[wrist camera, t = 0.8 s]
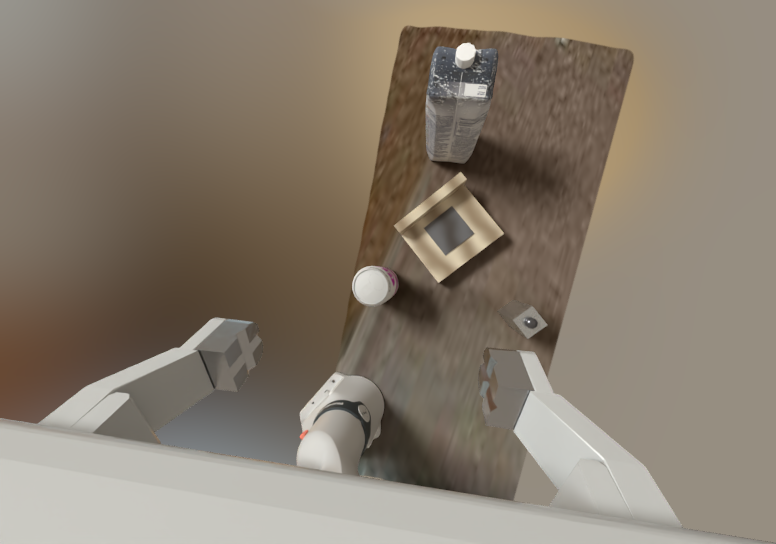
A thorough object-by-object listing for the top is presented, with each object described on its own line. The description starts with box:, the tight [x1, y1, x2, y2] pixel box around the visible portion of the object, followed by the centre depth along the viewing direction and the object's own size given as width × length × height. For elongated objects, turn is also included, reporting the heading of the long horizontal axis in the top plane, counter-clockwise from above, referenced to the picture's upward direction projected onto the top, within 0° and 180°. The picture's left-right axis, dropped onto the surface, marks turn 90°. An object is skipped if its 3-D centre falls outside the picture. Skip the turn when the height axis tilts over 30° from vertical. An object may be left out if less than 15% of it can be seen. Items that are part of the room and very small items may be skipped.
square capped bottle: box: [497, 300, 547, 339], centre depth 58 cm, size 4×4×13 cm
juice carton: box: [426, 43, 498, 164], centre depth 53 cm, size 9×10×27 cm
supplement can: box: [352, 266, 399, 307], centre depth 62 cm, size 8×8×15 cm
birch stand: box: [394, 172, 504, 283], centre depth 63 cm, size 18×16×8 cm
